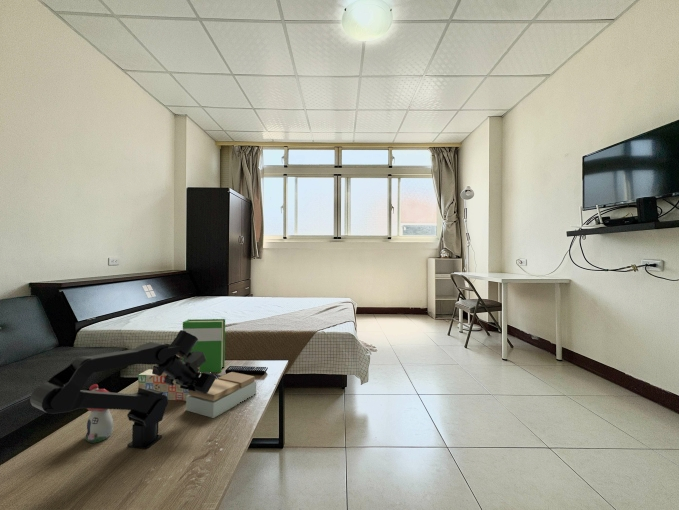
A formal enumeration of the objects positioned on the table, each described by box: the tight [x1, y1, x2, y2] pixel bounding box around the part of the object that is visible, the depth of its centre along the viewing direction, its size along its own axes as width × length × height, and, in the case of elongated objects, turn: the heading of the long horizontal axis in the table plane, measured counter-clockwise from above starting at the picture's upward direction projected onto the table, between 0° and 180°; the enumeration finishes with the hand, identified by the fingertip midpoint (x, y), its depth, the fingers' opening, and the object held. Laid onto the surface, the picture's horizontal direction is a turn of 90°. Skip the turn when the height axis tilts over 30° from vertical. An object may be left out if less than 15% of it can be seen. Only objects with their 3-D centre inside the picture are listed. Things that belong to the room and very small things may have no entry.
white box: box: [185, 371, 257, 419], centre depth 121 cm, size 22×13×7 cm, turn 155°
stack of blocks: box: [137, 367, 199, 402], centre depth 126 cm, size 21×6×12 cm, turn 86°
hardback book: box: [181, 318, 226, 373], centre depth 156 cm, size 18×7×24 cm, turn 97°
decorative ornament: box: [84, 383, 114, 444], centre depth 97 cm, size 9×6×15 cm
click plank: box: [189, 378, 239, 401], centre depth 117 cm, size 12×12×2 cm
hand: (203, 389), depth 113 cm, fingers closed, pressing on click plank
